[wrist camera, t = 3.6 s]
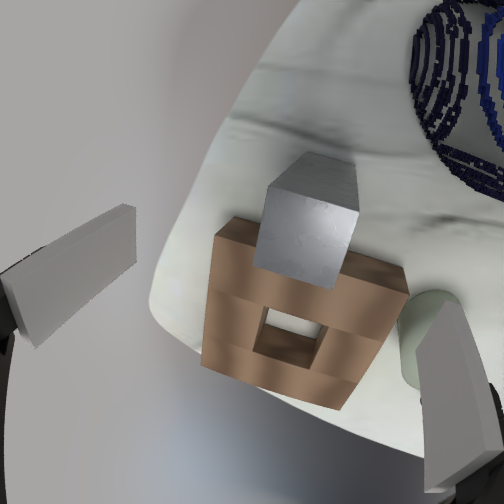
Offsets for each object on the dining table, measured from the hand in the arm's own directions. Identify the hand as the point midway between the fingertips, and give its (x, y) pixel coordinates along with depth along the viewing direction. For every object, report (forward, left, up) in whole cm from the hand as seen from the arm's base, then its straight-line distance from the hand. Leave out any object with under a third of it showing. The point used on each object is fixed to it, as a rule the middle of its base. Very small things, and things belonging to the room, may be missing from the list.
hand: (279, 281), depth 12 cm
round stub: (-16, +11, -18) cm, 27 cm away
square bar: (0, 0, -18) cm, 18 cm away
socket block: (-1, +15, -18) cm, 24 cm away
